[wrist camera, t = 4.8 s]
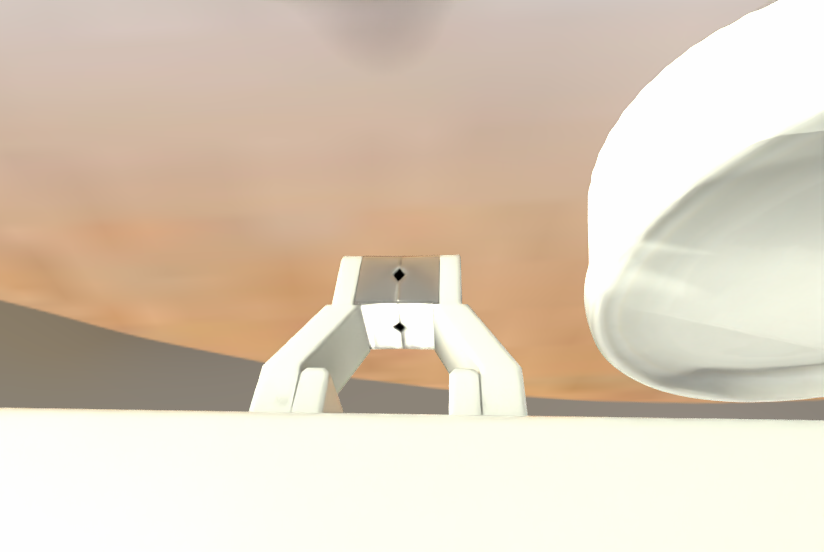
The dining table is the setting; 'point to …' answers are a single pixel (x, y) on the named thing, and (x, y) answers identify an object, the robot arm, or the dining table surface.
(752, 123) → the ramekin
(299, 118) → the dining table surface
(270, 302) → the dining table surface
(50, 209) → the dining table surface
